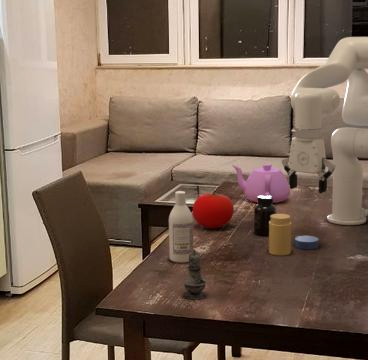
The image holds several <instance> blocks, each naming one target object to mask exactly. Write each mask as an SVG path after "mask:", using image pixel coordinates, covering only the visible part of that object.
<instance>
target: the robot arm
mask: <svg viewBox="0 0 368 360" xmlns="http://www.w3.org/2000/svg"><path fill="white" fill-rule="evenodd" d="M366 69H367V70H368V36H348V37H343V38H341V39H340V40H338V41H337V43H336V45H335V46H334V48H333V49H332V51H331V53H330V54H329V56H328V58H327V60H326V61H325V62H324V64H322V65H319V66H318V67H316V68H314V69H312V70H311V71H309V72H307V73H306V74H304V75H303V76H302V77H301V78H300V79H299V80H298V82H297V83H296V85H295V87H294V89H293V91H292V92H291V96H290V106H291V108H292V109H293V110H294V116H295V117H294V128H292V129H291V133H292V134H293V135H294V137H292V139H291V143H290V149H289V156H288V157H286V158H284V159H281V165H282V166H283V170H284V171H285V172H286V173H287V176H288V184H289V188H290V190H294V189H296V188H297V187H298V174H297V173H305V174H314V175H316V174H317V176H318V177H319V180H318V193H319V194H323V193H326V191H327V189H328V179H329V178H330V177H331V176H332V199H331V202H332V204H331V207H332V208H331V214H328V215H327V216H326V220H327V221H328V222H329V223H332V224H335V225H340V226H356V225H357V226H359V225H362V224H365V223H366V222H367V216H368V208H366V209H365V208H364V207H363V184H364V183H363V182H364V168H363V166H362V164H361V162H360V161H359V159H358V158H363V159H364V158H365V159H368V128H365V127H368V72H367V70H366ZM346 82H347V87H346V92H345V96H344V101H343V106H342V111H341V119H342V121H343V122H344V123H345V124H347V125H350V126H359V127H350V126H348V127H347V126H346V127H345V126H344V127H340V128H339V127H338V128H337V129H335V130H334V131H333V132H332V134H331V136H330V147H331V152H332V162H331V161H329V160H328V159H327V157H326V147H325V141H324V138H322V115H329V114H333V113H335V112H336V110H337V109H338V108H339V106H340V103H341V97H340V94H339V92H337V90H335V89H333V88H332V87H335V86H339V85H342V84H344V83H346ZM363 127H364V128H363ZM326 167H327V168H328V169H327V171H326Z"/></svg>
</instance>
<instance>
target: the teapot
mask: <svg viewBox="0 0 368 360" xmlns="http://www.w3.org/2000/svg"><path fill="white" fill-rule="evenodd" d="M231 167H233V168H234V169H235V171H236V175H237V185H238V187H239V189H240V190H241V191H243V193H244V195H245V197H246V198H247V199H248V200H249V201H251V202H255V203H257V201H258V196H271V197H273V203H274V204H276V203H277V204H278V203H281V202H284V201H285V200H286V199H287V198H288V197H289V196H290V194H291V189H290V185H289V180H288V179H287V177H286V176H285V174H284V173H283V171H282V169H281V168H278V167H272V164H271V163H263V164H262V167H256V168H254V169H253V170H252V171H251V173H250V174H249V176H248V178H247V179H246V180H245V179H244V177H243V170H242V168H241V167H239V166H238V165H233V164H232V165H231Z"/></svg>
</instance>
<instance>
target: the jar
mask: <svg viewBox="0 0 368 360" xmlns="http://www.w3.org/2000/svg"><path fill="white" fill-rule="evenodd" d="M270 217H271V220H270V222H269V236H268V254H271V255H274V256H288V255H290V254H291V253H292V221H291V219H292V218H291V216H290V215H289V214H288V213H287V214H286V213H276V214H273V215H271V216H270Z"/></svg>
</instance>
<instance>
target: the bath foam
mask: <svg viewBox="0 0 368 360" xmlns="http://www.w3.org/2000/svg"><path fill="white" fill-rule="evenodd" d="M186 193H187V192H185V191H184V190H178V191H175V192H174V196H175V197H174V198H175V200H174V202H175V204H174V206H173V207H172V209H171V211H170V213H169V216H168V253H169V260H170V261H171V262H174V263H180V264H181V263H184V264H185V263H189V255H190V254H191V253H193V251H194V216H193V213H192V212H191V210H190V208H189V207H188V206H187V203H186V202H187V196H186Z"/></svg>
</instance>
